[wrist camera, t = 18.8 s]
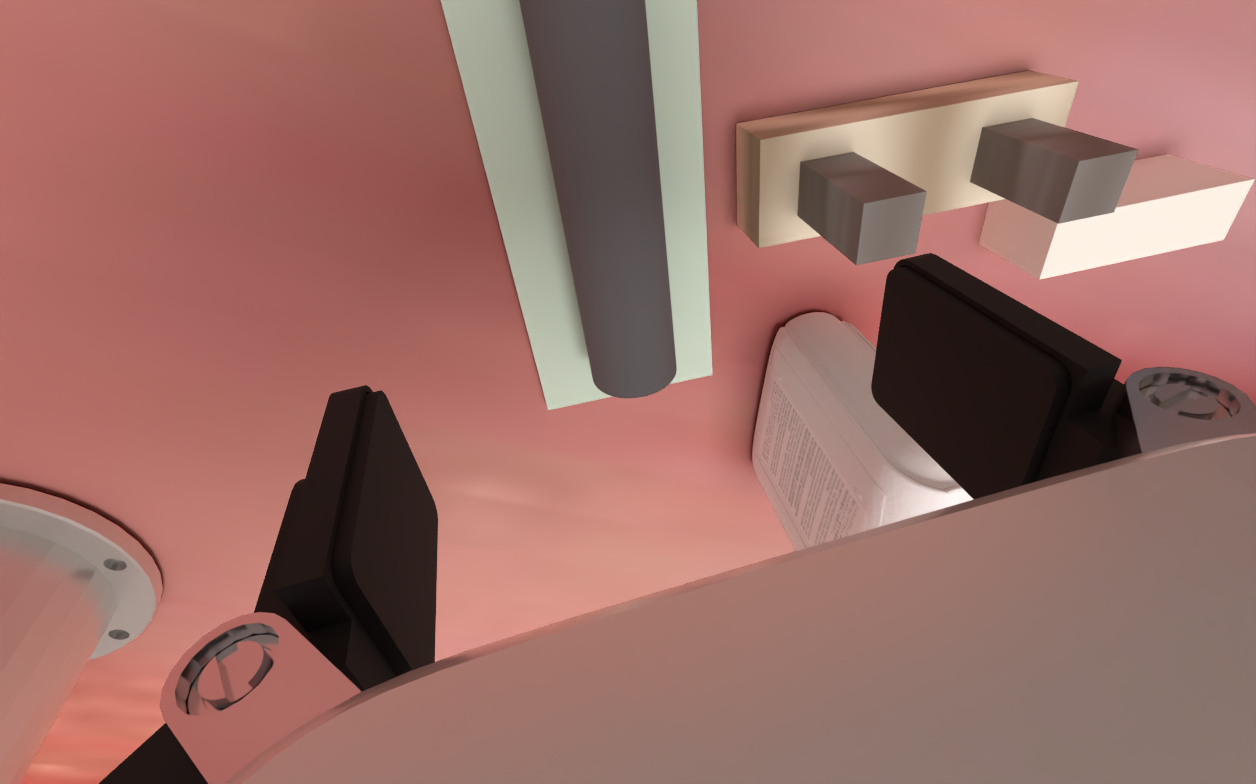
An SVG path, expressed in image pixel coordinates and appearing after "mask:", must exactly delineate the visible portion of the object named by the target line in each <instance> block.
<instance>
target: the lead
mask: <svg viewBox="0 0 1256 784" xmlns="http://www.w3.org/2000/svg"><path fill="white" fill-rule="evenodd" d="M519 2H520V7H521V12H522V17H523V22H524V28H525V33H526V38H527V43H528V48H529V53H530V59H531V64H532V69H533V74H534V79H535V84H536V89H537V95H538V100H539V105H540V110H541V115H542V120H543V126H544V131H545V136H546V141H547V146H548V151H549V156H550V162H551V167H552V172H553V177H554V182H555V187H556V192H557V198H558V203H559V208H560V213H561V218H562V223H563V229H564V234H565V239H566V244H567V249H568V254H569V259H570V265H571V270H572V275H573V280H574V285H575V290H576V296H577V301H578V306H579V311H580V316H581V321H582V326H583V332H584V337H585V342H586V347H587V352H588V357H589V362H590V368H591V373H592V378H593V382H594V384H595V386H596V387H597V388H598V389H599V390H600V391H602V392H603V393H605V394H607V395H610V396H614V397H619V398H638V397H643V396H648V395H651V394H653V393H656V392H658V391H660V390H662V389H663V388H665V387H666V386H667V385H669V384H670V383H671V382H672V380H673V379H674V377H675V375H676V371H677V366H676V354H675V343H674V331H673V320H672V308H671V296H670V285H669V273H668V261H667V250H666V238H665V226H664V215H663V203H662V191H661V180H660V168H659V156H658V145H657V133H656V122H655V110H654V98H653V87H652V75H651V63H650V52H649V40H648V28H647V17H646V5H645V0H519Z"/></svg>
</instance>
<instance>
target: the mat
mask: <svg viewBox="0 0 1256 784" xmlns="http://www.w3.org/2000/svg"><path fill="white" fill-rule="evenodd" d="M441 4H442V8H443V11H444V15H445V19H446V23H447V27H448V30H449V34H450V38H451V42H452V46H453V49H454V53H455V57H456V61H457V65H458V69H459V72H460V76H461V80H462V84H463V88H464V91H465V95H466V99H467V103H468V107H469V111H470V114H471V118H472V122H473V126H474V130H475V133H476V137H477V141H478V145H479V149H480V152H481V156H482V160H483V164H484V168H485V172H486V175H487V179H488V183H489V187H490V191H491V194H492V198H493V202H494V206H495V210H496V214H497V217H498V221H499V225H500V229H501V233H502V236H503V240H504V244H505V248H506V252H507V255H508V259H509V263H510V267H511V271H512V275H513V278H514V282H515V286H516V290H517V294H518V297H519V301H520V305H521V309H522V313H523V316H524V320H525V324H526V328H527V332H528V336H529V339H530V343H531V347H532V351H533V355H534V358H535V362H536V366H537V370H538V374H539V378H540V381H541V385H542V389H543V393H544V397H545V400H546V404H547V408H548V410H552V409H557V408H561V407H566V406H571V405H575V404H580V403H584V402H589V401H594V400H598V399H603V398H607V397H612V396H610V395H607V394H605V393H603V392H602V391H600V390H599V389H598V388H597V387H596V386H595V384H594V382H593V378H592V373H591V368H590V362H589V357H588V352H587V347H586V342H585V337H584V332H583V326H582V321H581V316H580V311H579V306H578V301H577V296H576V290H575V285H574V280H573V275H572V270H571V265H570V259H569V254H568V249H567V244H566V239H565V234H564V229H563V223H562V218H561V213H560V208H559V203H558V198H557V192H556V187H555V182H554V177H553V172H552V167H551V162H550V156H549V151H548V146H547V141H546V136H545V131H544V126H543V120H542V115H541V110H540V105H539V100H538V95H537V89H536V84H535V79H534V74H533V69H532V64H531V59H530V53H529V48H528V43H527V38H526V33H525V28H524V22H523V17H522V12H521V7H520V2H519V0H441ZM645 5H646V17H647V28H648V40H649V52H650V63H651V75H652V87H653V98H654V110H655V122H656V133H657V145H658V156H659V168H660V180H661V191H662V203H663V215H664V226H665V238H666V250H667V261H668V273H669V285H670V296H671V308H672V320H673V331H674V343H675V354H676V366H677V371H676V375H675V377H674V379H673V380H672V382H671V383H670V384H672V383H677V382H681V381H686V380H691V379H695V378H700V377H704V376H709V375H712V352H711V328H710V304H709V280H708V256H707V232H706V208H705V184H704V160H703V136H702V112H701V88H700V64H699V40H698V16H697V0H645Z"/></svg>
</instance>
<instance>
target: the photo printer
mask: <svg viewBox="0 0 1256 784" xmlns="http://www.w3.org/2000/svg"><path fill="white" fill-rule="evenodd" d="M875 355H876V347H875V346H874V345H873V344H872V343H871V342H870V341H869V340H868V339H867V338H866V337H864V335H863V334H862V333H861V332H860V331H859V330H858V329H857V328H856V327H854V326H853V325H852V324H850V323H849V322H847V321H840V320H839V319H837V318H836V317H835V316H833V315H831V314H828V313H824V312H812V313H807V314H803V315H800V316H798V317H796V318H794V319H792V320H790V321H789V322H787V323H786V325H785V327H781V328H780V329H779V330H778V332H777V334H776V337H775V340H774V343H773V345H772V349H771V352H770V357H769V362H768V366H767V370H766V375H765V381H764V385H763V390H762V396H761V401H760V406H759V412H758V418H757V423H756V429H755V434H754V442H753V451H752V462H753V468H754V471H755V474H756V476H757V478H758V480H759V482H760V484H761V486H762V488H763V490H764V491H765V493H766V495H767V497H768V499H769V501H770V503H771V505H772V507H773V509H774V511H775V512H776V514H777V516H778V518H779V520H780V522H781V524H782V526H783V528H784V530H785V532H786V534H787V536H788V538H789V540H790V541H791V543H792V545H793V547H794V549H795V551H798V550H802V549H805V548H809V547H812V546H815V545H819V544H822V543H826V542H829V541H832V540H836V539H839V538H843V537H846V536H850V535H853V534H856V533H860V532H863V531H867V530H870V529H874V528H877V527H880V526H884V525H887V524H891V523H894V522H898V521H901V520H904V519H908V518H911V517H915V516H918V515H922V514H925V513H929V512H932V511H936V510H939V509H943V508H946V507H950V506H953V505H957V504H960V503H964V502H967V501H971V500H974V499H973V498H972V497H971V496H970V495H969V494H968V493H967V492H966V491H965V490H964V489H963V488H962V487H961V486H960V485H959V484H958V483H957V482H956V481H955V480H954V479H953V478H952V477H951V476H950V475H949V474H948V473H947V472H945V471H944V470H943V469H942V468H941V467H940V466H939V465H938V464H937V463H936V462H935V461H934V460H933V459H932V458H931V457H930V456H929V455H928V454H927V453H926V452H925V451H924V450H923V449H922V448H921V447H920V446H919V445H918V444H917V443H916V442H915V441H914V440H913V439H912V438H911V437H910V436H909V435H908V434H907V433H906V432H905V431H904V430H903V429H902V428H901V427H900V426H899V425H898V424H897V423H896V422H895V421H894V420H893V419H892V418H891V417H890V416H889V415H888V414H887V413H886V412H885V411H884V410H883V409H882V408H881V407H880V406H879V405H878V404H877V403H876V401H875V400H874V398H873V395H872V390H871V383H872V376H873V369H874V362H875Z"/></svg>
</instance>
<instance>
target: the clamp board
mask: <svg viewBox="0 0 1256 784" xmlns="http://www.w3.org/2000/svg"><path fill="white" fill-rule="evenodd" d="M1078 82H1079V81H1076V80H1071V79H1067V78H1062V77H1057V76H1053V75H1048V74H1043V73H1039V72H1034V71H1029V70H1028V71H1022V72H1017V73H1011V74H1006V75H1000V76H995V77H989V78H984V79H978V80H973V81H967V82H962V83H956V84H951V85H945V86H940V87H934V88H929V89H923V90H918V91H912V92H907V93H901V94H896V95H890V96H885V97H879V98H874V99H868V100H863V101H857V102H852V103H846V104H841V105H835V106H830V107H824V108H819V109H813V110H808V111H802V112H797V113H791V114H786V115H780V116H775V117H769V118H764V119H758V120H753V121H747V122H742V123H736V165H737V225H738V226H739V227H740V229H741V230H742V231H743V232H744V233H745V234H746V235H747V236H748V237H749V238H750V239H751V240H752V241H753V242H754V244H755V245H756V246H757V247H758V248H762V247H767V246H772V245H777V244H782V243H787V242H792V241H797V240H802V239H807V238H812V237H817V236H822V237H823V238H824V239H826V240H827V241H828V242H829V243H830V244H831V245H833V246H834V247H835V248H836V249H837V250H839V251H840V252H841V253H842V254H843V255H845V256H846V257H847V258H848V259H849V260H851V261H852V262H853V263H854V264H855V265H860V264H865V263H870V262H875V261H880V260H885V259H889V258H894V257H899V256H904V255H909V254H914V253H915V252H916V247H917V241H918V236H919V231H920V225H921V220H922V215H927V214H932V213H937V212H942V211H947V210H952V209H957V208H962V207H967V206H972V205H977V204H982V203H987V202H992V201H997V200H1002V199H1007V200H1009V201H1011V202H1013V203H1015V204H1017V205H1020V206H1022V207H1024V208H1026V209H1028V210H1030V211H1032V212H1034V213H1037V214H1039V215H1041V216H1043V217H1045V218H1047V219H1049V220H1051V221H1054V222H1056V223H1058V224H1060V223H1065V222H1070V221H1075V220H1079V219H1084V218H1089V217H1094V216H1099V215H1104V214H1109V213H1114V211H1115V209H1116V206H1117V204H1118V201H1119V198H1120V196H1121V193H1122V191H1123V188H1124V186H1125V183H1126V180H1127V178H1128V175H1129V173H1130V170H1131V168H1132V165H1133V162H1134V160H1135V157H1136V155H1137V152H1138V149H1134V148H1131V147H1128V146H1124V145H1121V144H1118V143H1114V142H1111V141H1108V140H1104V139H1101V138H1098V137H1094V136H1091V135H1088V134H1084V133H1081V132H1078V131H1074V130H1071V129H1068V128H1064V127H1065V124H1066V121H1067V118H1068V114H1069V111H1070V108H1071V105H1072V102H1073V98H1074V95H1075V92H1076V89H1077V85H1078Z"/></svg>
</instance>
